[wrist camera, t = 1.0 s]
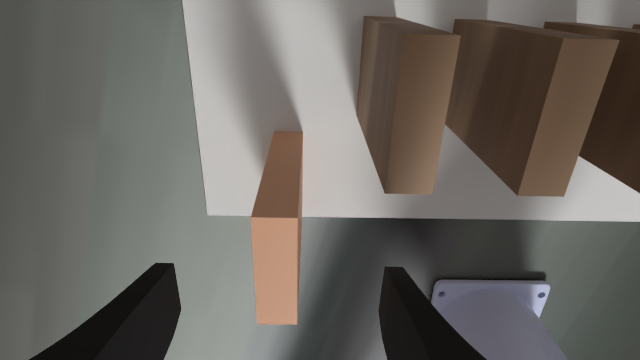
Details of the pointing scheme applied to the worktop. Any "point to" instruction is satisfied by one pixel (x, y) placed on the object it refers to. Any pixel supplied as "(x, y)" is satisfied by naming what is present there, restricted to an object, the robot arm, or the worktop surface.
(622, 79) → the walnut domino
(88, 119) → the worktop surface
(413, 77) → the walnut domino
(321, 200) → the grey mat
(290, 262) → the tan wooden flat block
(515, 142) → the walnut domino
